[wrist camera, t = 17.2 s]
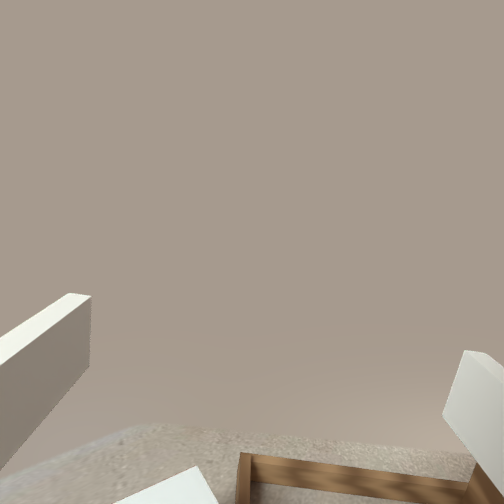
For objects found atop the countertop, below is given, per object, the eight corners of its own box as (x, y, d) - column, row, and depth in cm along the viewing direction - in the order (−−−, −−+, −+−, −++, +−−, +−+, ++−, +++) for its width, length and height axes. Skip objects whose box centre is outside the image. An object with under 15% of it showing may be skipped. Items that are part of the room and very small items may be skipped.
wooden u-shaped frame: (462, 500, 44) (486, 439, 41) (530, 610, 33) (568, 535, 30) (237, 470, 43) (248, 406, 40) (231, 572, 32) (245, 492, 30)
